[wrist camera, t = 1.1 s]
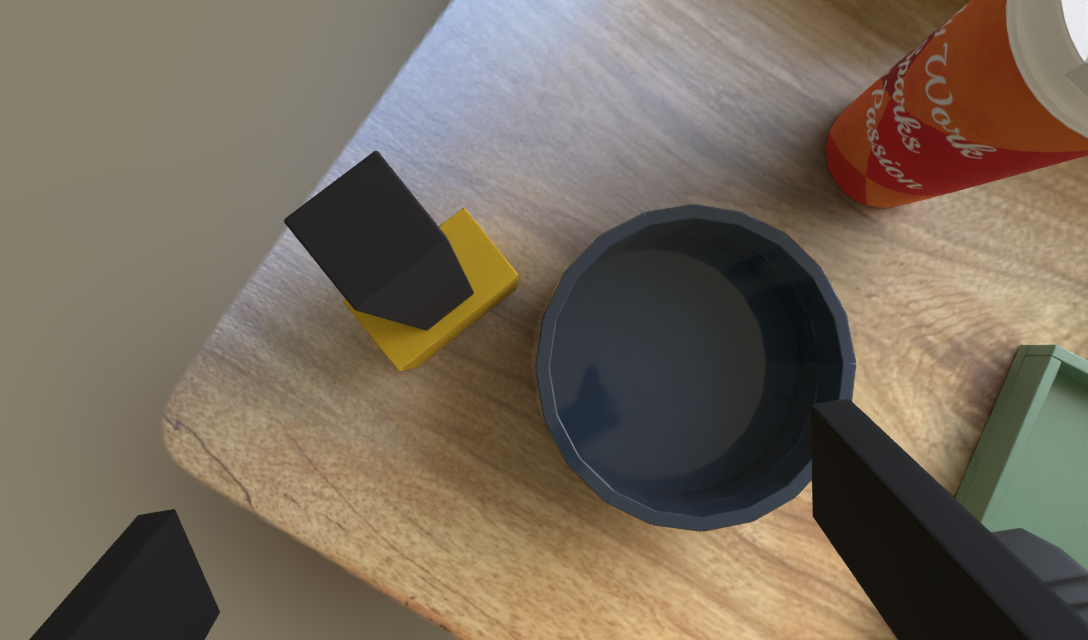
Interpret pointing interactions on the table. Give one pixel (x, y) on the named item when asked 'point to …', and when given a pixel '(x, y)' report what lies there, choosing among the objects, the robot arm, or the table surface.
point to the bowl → (691, 366)
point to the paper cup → (969, 105)
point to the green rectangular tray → (1036, 452)
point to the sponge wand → (401, 261)
